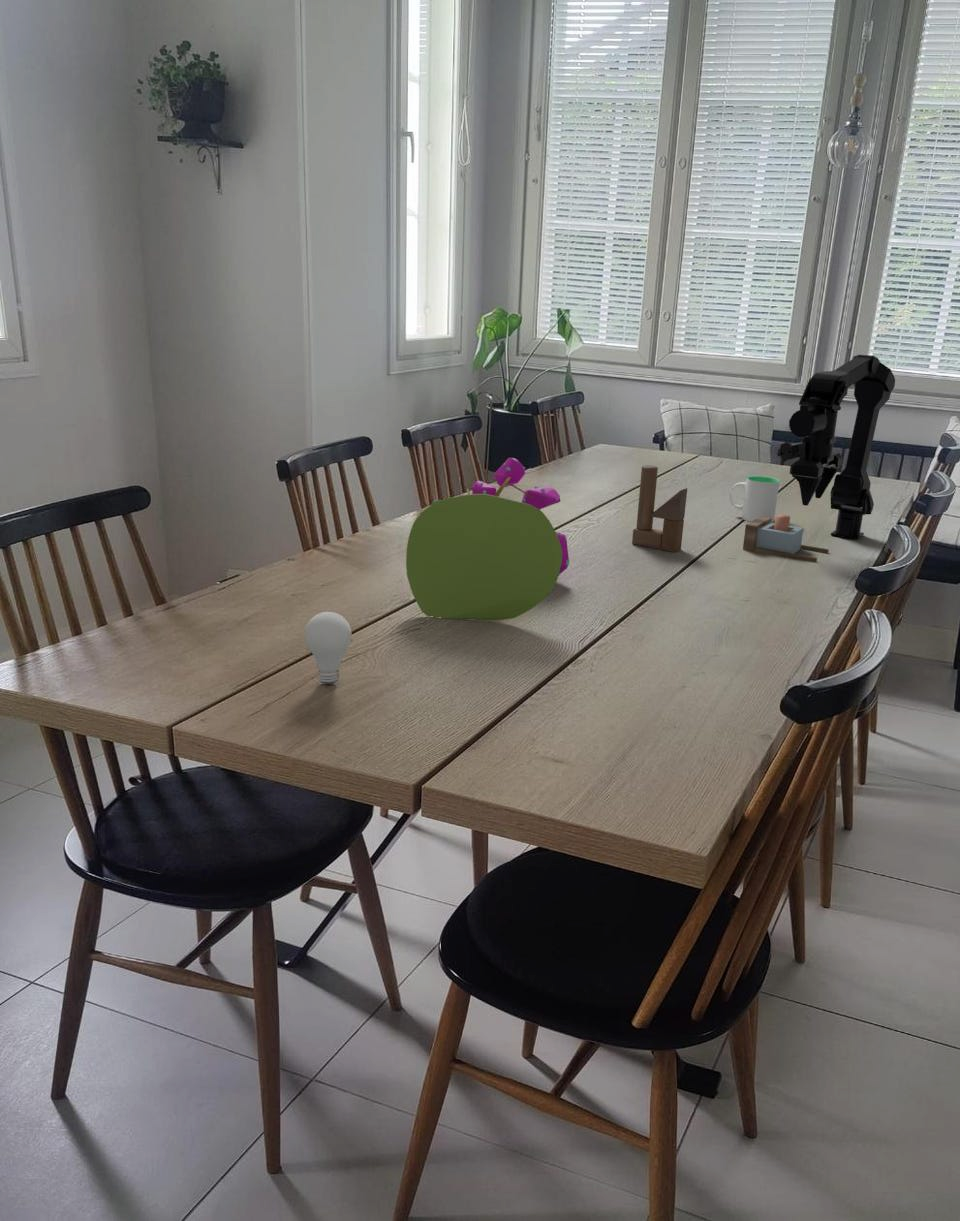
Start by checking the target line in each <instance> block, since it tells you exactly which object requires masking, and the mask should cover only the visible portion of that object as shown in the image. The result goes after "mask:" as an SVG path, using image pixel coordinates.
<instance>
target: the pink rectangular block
mask: <svg viewBox="0 0 960 1221" xmlns="http://www.w3.org/2000/svg"><path fill="white" fill-rule="evenodd" d="M790 520H791V515H787V514H775V519H774V522H773V523H774V530H780V531H786V532H788V529H789V526H790Z"/></svg>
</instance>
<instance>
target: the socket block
mask: <svg viewBox="0 0 960 1221" xmlns="http://www.w3.org/2000/svg"><path fill="white" fill-rule="evenodd" d="M774 523H775V522H771V523H770V522H769V523H767V524H765V525H763V526H762V527H760V528H758V532H757V540H756V547H758V548H764V549H770V550H775V551H781V552H787V553H792V554H797V552H799V551H800V550H802V549H801V545H802V542H803V533H804V529H805V528H804V527H802V526H801V527H800V526H794V525H789V529H788V532H786V531H780V530H774Z"/></svg>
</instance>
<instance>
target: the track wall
mask: <svg viewBox="0 0 960 1221" xmlns="http://www.w3.org/2000/svg"><path fill="white" fill-rule="evenodd" d="M771 519H772V518H770V517H764V516H761V517H759V518H757V519H755V520H754V521H752V522H751V521H749V522H748V523H746V524H745V530H744V536H743V545H742V550H743V551H748V552H755V553H756V552H757V553H762V554H767V555H773V556H777V557H779V556H780V557H784V558H790V559H794V560H795V559H796V560H802V561H807V562H811V563H812V562H813V563H817V561H818V557H814V556H808V555H802V554H797V553H794V554H792V553H787V552H781V551H775V550H770V549H764V548H758V547H756V540H757V532H758V528H760V527H762V526H763V525H765V524H767V523H769V522H770V523H772V522H771ZM800 550H806V551H811V552H818V553H821V554H829V550H830V549H828V548H824V547H819V546H813V545H812V546H811V545H806V544H801V549H800Z"/></svg>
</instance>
